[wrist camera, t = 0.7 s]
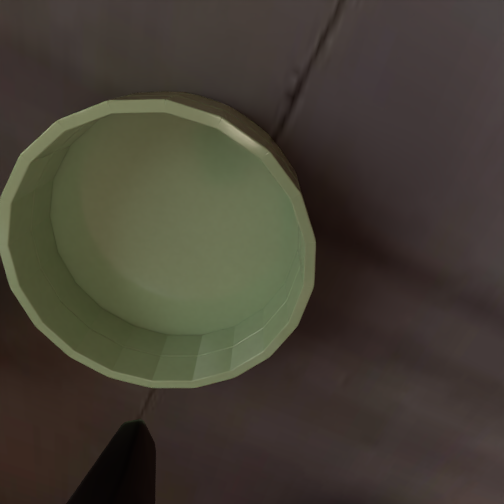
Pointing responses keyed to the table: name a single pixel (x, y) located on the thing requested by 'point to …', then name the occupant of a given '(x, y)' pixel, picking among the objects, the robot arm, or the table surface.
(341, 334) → the table surface
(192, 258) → the tub
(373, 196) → the table surface
